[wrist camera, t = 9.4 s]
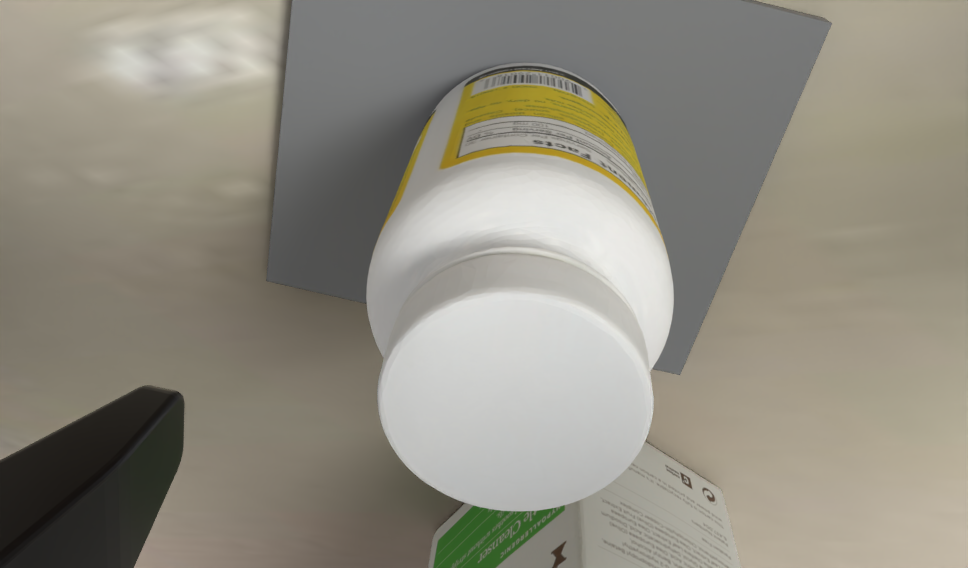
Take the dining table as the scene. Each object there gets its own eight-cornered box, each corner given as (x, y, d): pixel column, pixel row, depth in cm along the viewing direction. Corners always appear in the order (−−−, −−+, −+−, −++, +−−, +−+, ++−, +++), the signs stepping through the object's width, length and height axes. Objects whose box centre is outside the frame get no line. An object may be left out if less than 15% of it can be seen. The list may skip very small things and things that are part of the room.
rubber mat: (824, 17, 18) (831, 23, 17) (676, 362, 23) (679, 375, 22) (310, -111, 18) (302, -110, 17) (272, 270, 22) (266, 280, 22)
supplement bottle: (506, 297, 22) (477, 592, 13) (375, 145, 20) (241, 374, 11) (678, 187, 20) (776, 450, 11) (551, 8, 18) (551, 158, 9)
